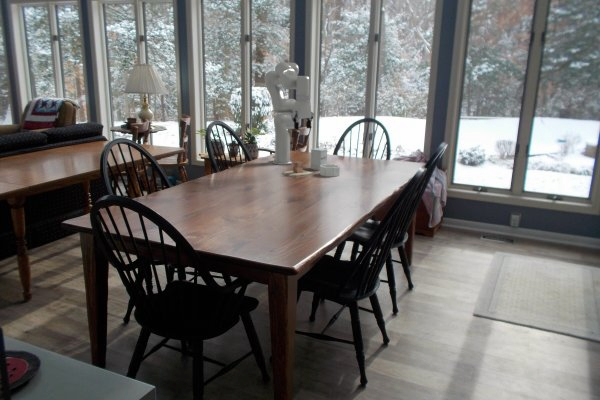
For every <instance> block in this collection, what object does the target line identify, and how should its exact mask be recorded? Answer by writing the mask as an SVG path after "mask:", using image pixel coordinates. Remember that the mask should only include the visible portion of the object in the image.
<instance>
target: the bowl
mask: <svg viewBox="0 0 600 400" xmlns="http://www.w3.org/2000/svg"><path fill="white" fill-rule="evenodd" d="M340 166H341V165H339V164H335V163H327V164H323V165H320V170H319V175H320V176H322V177H331V178H332V177H339V176H340V172H341V171H340V169H341V167H340Z"/></svg>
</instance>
